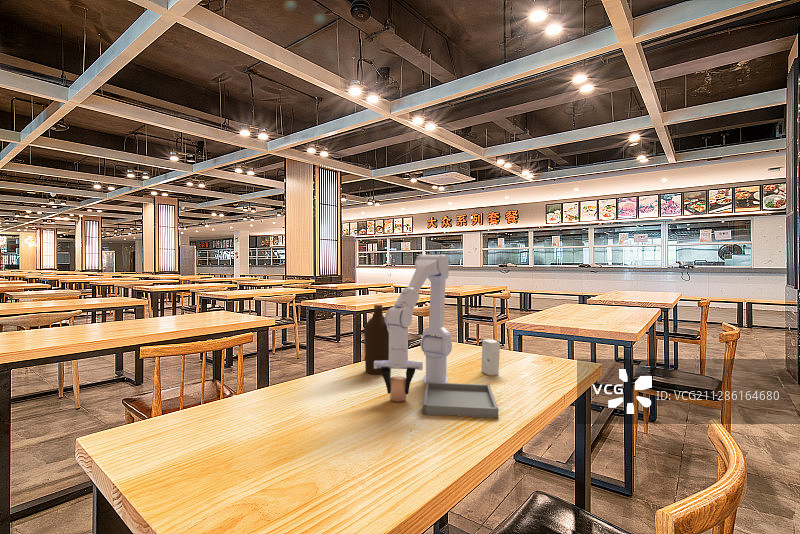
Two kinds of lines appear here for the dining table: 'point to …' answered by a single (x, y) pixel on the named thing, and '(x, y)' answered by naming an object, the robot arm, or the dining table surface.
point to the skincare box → (490, 357)
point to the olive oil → (376, 341)
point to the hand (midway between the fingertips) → (398, 392)
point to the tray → (459, 400)
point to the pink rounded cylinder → (398, 388)
